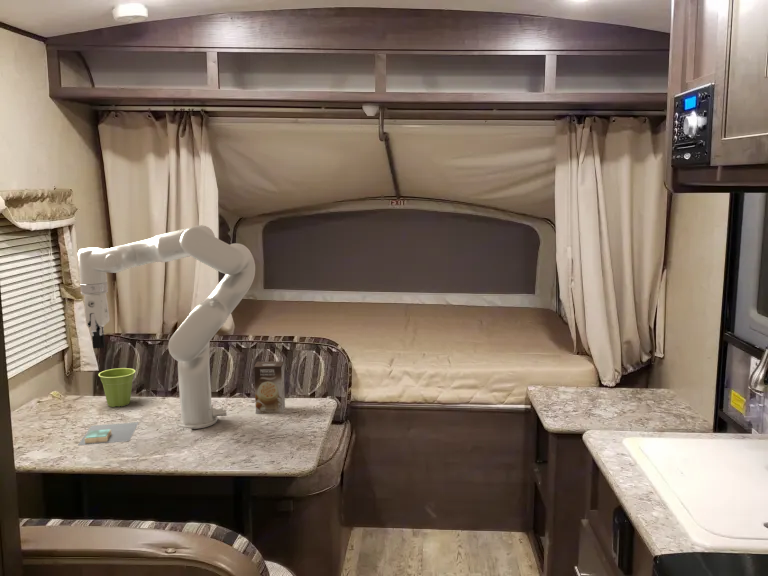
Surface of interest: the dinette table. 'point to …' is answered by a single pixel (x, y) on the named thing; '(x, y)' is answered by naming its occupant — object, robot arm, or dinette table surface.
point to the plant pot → (117, 385)
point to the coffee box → (269, 387)
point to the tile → (98, 436)
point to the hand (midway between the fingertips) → (99, 347)
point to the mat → (113, 432)
